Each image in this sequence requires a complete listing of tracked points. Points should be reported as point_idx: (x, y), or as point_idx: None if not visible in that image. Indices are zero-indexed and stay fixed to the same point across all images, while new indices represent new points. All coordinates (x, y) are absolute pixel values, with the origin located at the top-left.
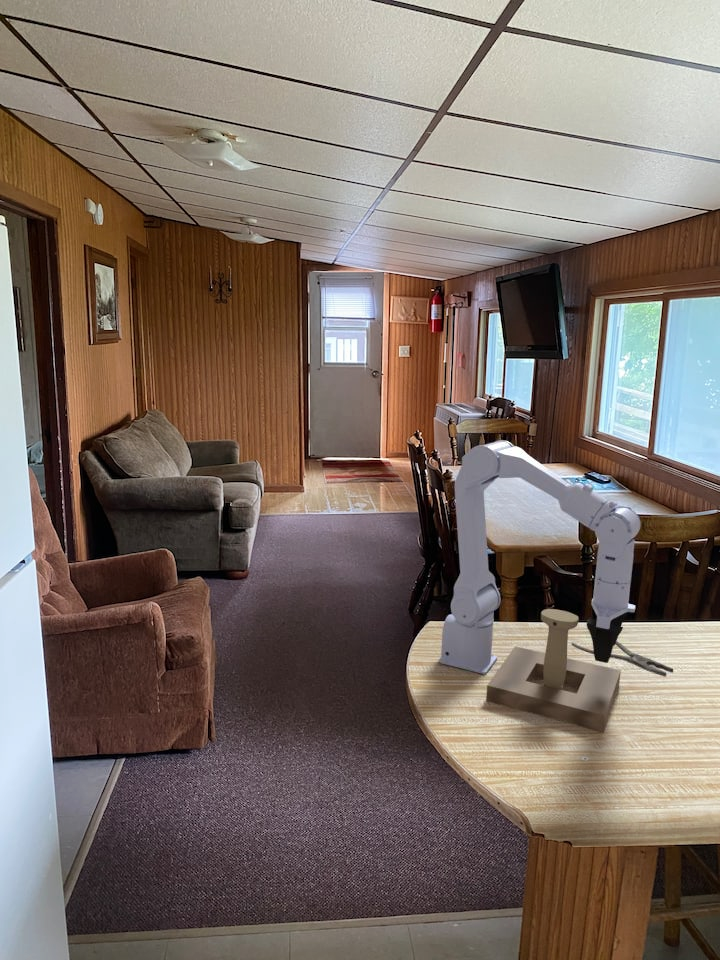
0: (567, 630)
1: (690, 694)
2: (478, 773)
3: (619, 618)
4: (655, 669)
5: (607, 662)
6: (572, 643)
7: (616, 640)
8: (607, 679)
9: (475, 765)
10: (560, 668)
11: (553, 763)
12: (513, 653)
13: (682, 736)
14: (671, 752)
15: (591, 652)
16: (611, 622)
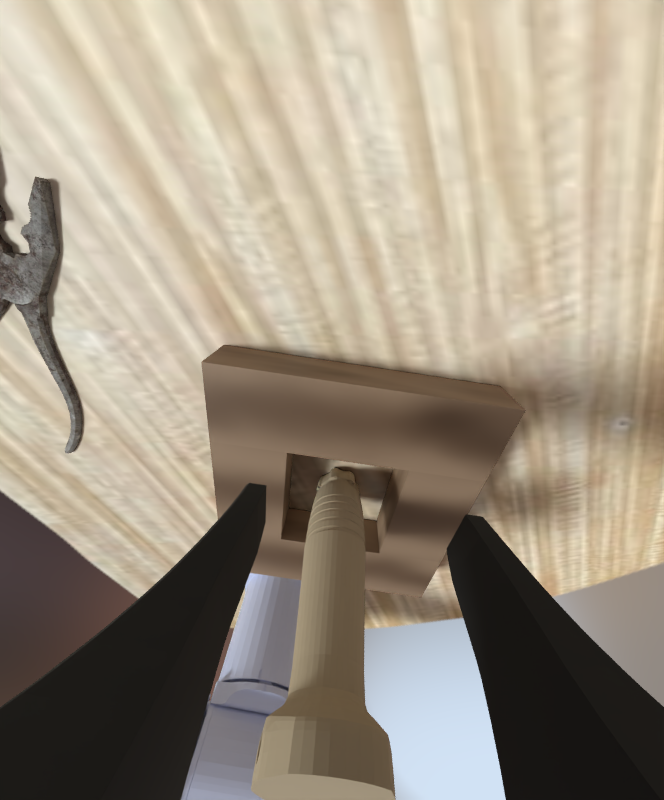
0: (343, 688)
1: (137, 66)
2: (656, 561)
3: (176, 692)
4: (41, 223)
5: (483, 519)
6: (69, 451)
7: (256, 505)
8: (290, 400)
9: (631, 565)
10: (361, 537)
11: (638, 474)
12: (259, 570)
13: (495, 134)
14: (607, 189)
15: (79, 411)
16: (208, 647)
